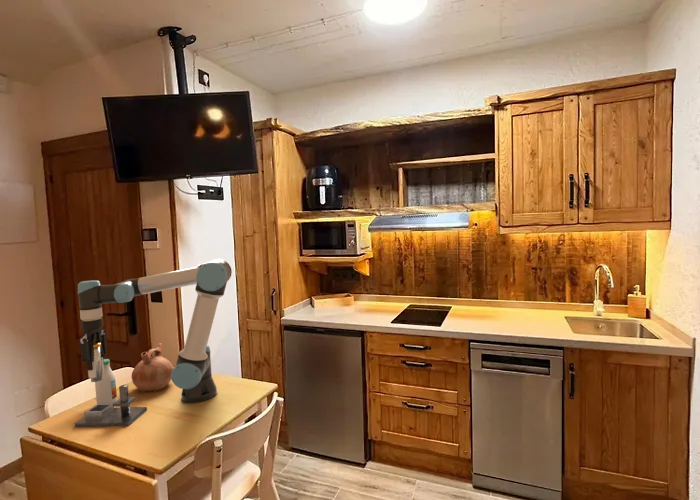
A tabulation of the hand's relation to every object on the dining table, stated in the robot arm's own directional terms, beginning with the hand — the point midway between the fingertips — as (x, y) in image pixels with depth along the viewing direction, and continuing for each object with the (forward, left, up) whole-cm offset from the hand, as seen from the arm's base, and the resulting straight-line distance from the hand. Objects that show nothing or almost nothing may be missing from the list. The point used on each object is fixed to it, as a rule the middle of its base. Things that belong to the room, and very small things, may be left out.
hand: (96, 374), depth 159 cm
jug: (-6, -30, -19) cm, 36 cm away
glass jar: (0, 0, -2) cm, 2 cm away
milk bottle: (+6, -13, -19) cm, 24 cm away
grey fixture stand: (-5, 0, -19) cm, 19 cm away
